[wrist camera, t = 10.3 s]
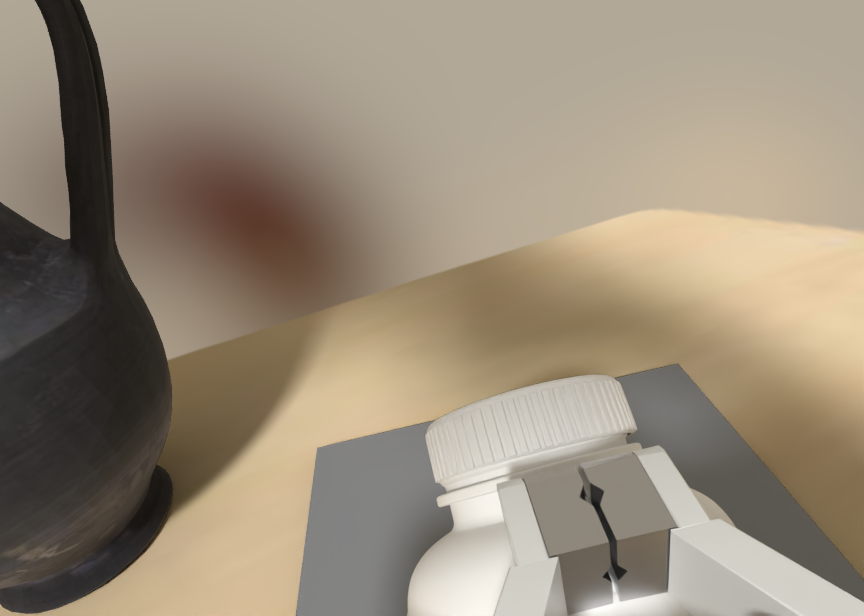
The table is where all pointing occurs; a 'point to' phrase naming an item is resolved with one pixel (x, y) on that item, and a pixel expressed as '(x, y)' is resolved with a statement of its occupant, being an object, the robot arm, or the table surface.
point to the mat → (427, 522)
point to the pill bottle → (511, 459)
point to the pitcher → (76, 369)
